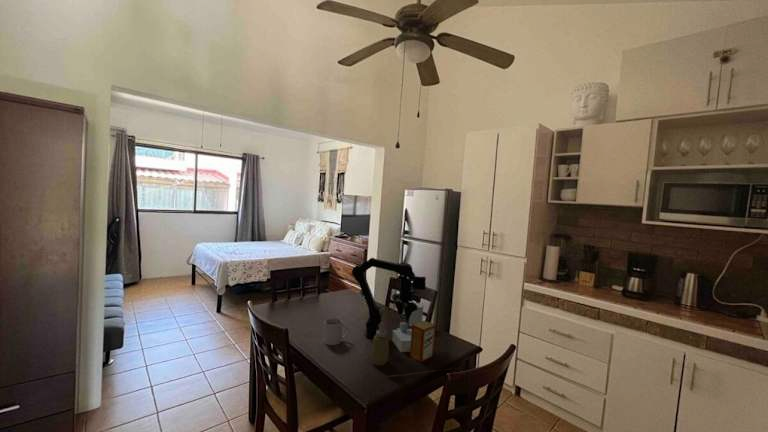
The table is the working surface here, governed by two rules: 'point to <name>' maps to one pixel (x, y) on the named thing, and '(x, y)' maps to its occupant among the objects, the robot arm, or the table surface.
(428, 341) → the baking soda box
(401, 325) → the lid
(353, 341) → the table surface
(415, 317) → the supplement box
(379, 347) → the squeeze bottle
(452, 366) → the table surface
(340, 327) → the mug
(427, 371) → the table surface
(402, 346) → the tub
